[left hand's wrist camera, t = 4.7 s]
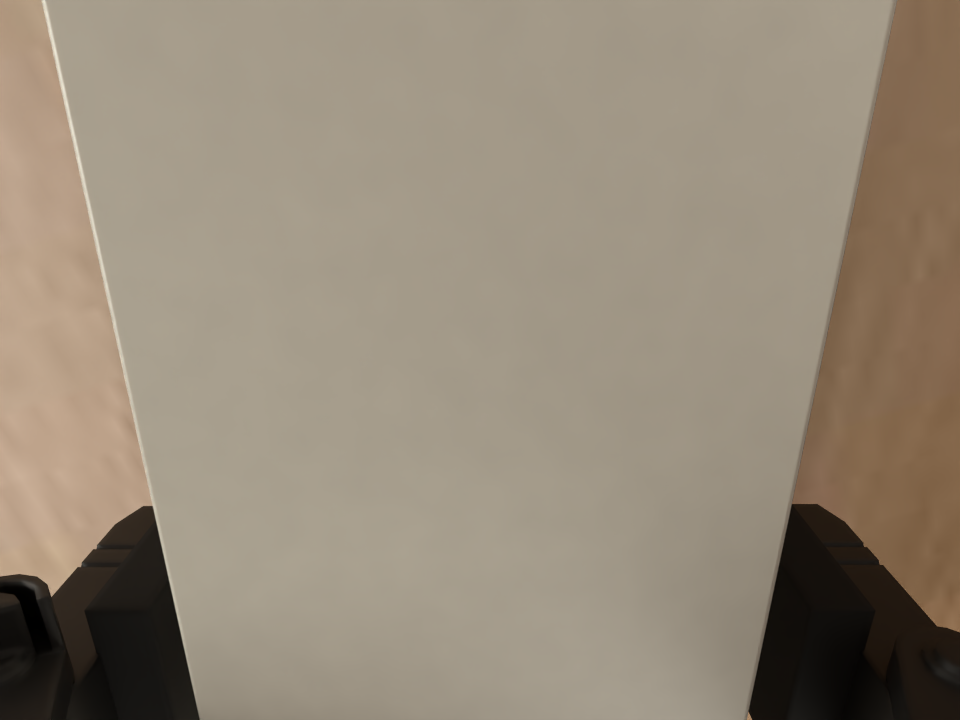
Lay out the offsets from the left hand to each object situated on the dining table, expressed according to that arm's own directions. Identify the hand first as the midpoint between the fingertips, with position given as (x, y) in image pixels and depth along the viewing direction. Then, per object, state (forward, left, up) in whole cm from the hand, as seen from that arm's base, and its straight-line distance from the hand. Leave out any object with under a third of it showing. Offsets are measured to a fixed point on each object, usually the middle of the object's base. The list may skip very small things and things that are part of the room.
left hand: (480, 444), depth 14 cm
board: (+17, +4, -1) cm, 18 cm away
